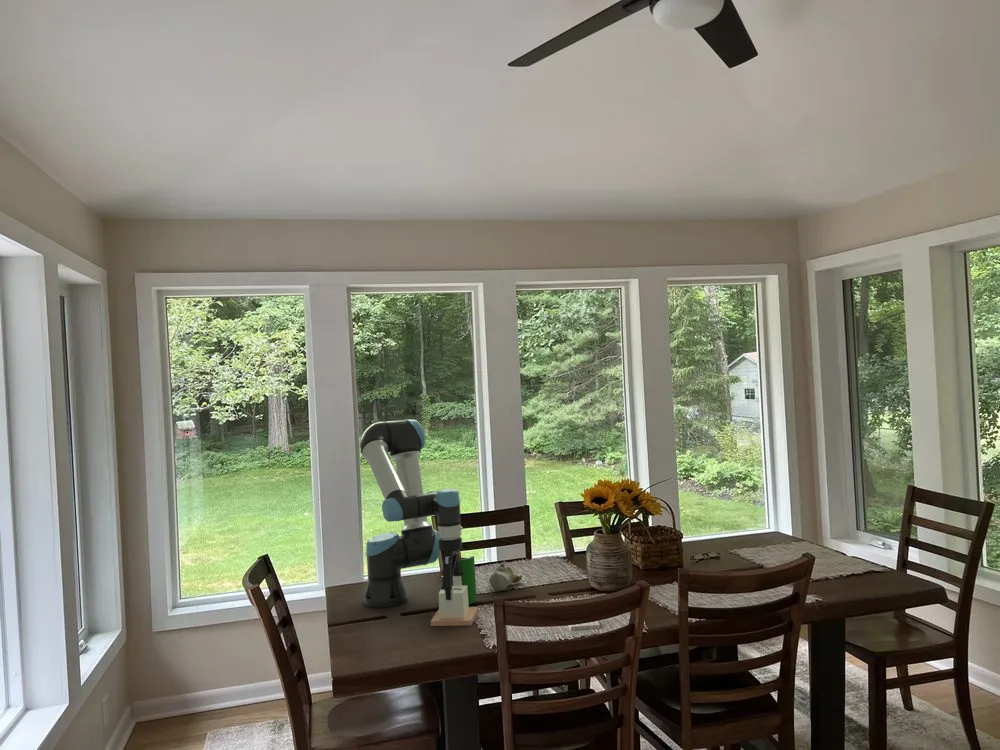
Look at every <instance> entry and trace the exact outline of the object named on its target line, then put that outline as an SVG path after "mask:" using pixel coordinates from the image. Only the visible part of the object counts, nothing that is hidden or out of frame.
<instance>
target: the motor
mask: <svg viewBox="0 0 1000 750" xmlns="http://www.w3.org/2000/svg"><path fill="white" fill-rule="evenodd" d="M459 555H460V561H461V566H462V572H463V575H460V576H461V583H462V586H465V585H467V587H468V604H469V605H472V604H475V603H476V602H477V601H478V600H477V599H478V598H477V587H476V586H477V585H476V584H477V583H476V568H475V567H476V566H475V564H476V563H475V556H474V555H472V556H469V557H462V552H461V549H460V550H459ZM453 576H455V575H453ZM452 586H453V582H452Z"/></svg>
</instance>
